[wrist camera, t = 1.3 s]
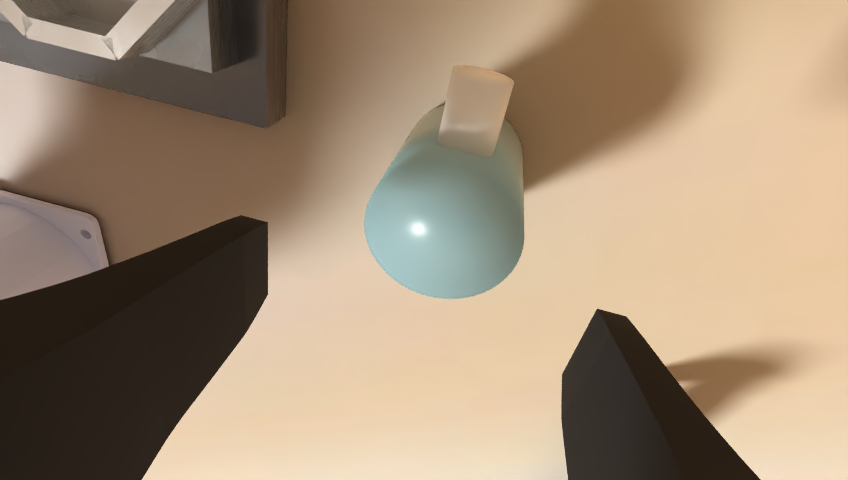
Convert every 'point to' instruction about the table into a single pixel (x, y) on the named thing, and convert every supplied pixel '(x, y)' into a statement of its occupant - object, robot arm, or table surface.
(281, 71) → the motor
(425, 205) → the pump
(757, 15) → the table surface
